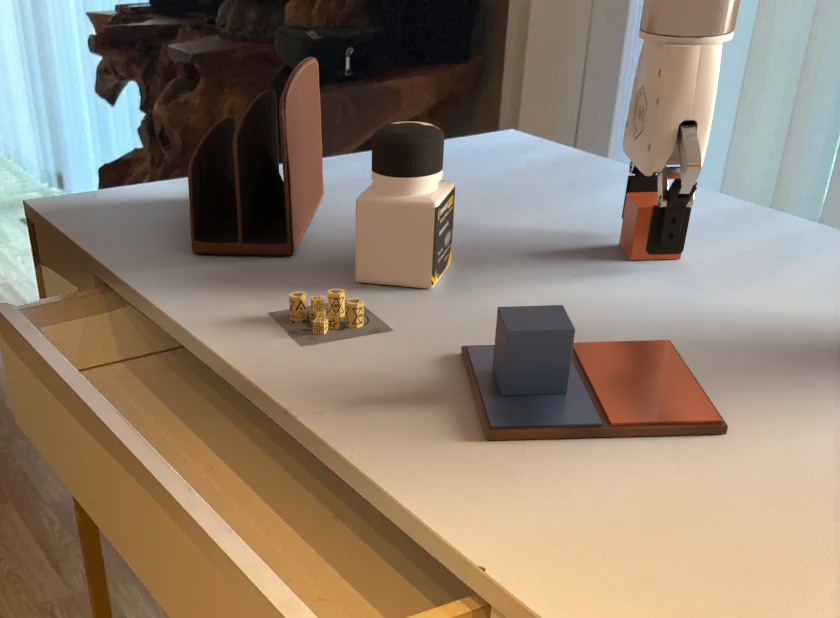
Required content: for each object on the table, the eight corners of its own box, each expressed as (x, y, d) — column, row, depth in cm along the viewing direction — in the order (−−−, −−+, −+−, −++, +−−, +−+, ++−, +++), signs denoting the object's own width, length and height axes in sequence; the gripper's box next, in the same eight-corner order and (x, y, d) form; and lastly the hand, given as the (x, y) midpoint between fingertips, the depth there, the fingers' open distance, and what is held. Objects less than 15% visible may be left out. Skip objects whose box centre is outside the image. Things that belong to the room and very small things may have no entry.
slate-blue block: (555, 367, 82) (563, 304, 79) (566, 394, 78) (575, 329, 75) (492, 369, 82) (497, 306, 79) (501, 396, 78) (507, 331, 75)
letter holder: (324, 197, 119) (322, 45, 110) (294, 258, 104) (289, 88, 95) (233, 196, 121) (224, 45, 112) (190, 255, 106) (176, 87, 97)
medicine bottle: (433, 290, 97) (440, 138, 89) (354, 283, 99) (354, 133, 91) (451, 264, 102) (460, 118, 94) (376, 257, 104) (378, 114, 96)
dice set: (286, 316, 93) (285, 292, 92) (343, 306, 95) (343, 283, 93) (308, 337, 90) (308, 313, 88) (367, 327, 91) (367, 303, 90)
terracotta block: (667, 243, 105) (677, 190, 102) (680, 259, 101) (690, 205, 98) (618, 244, 105) (626, 192, 102) (630, 260, 101) (638, 207, 98)
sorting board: (668, 347, 86) (670, 337, 86) (726, 434, 75) (729, 423, 74) (460, 353, 86) (461, 342, 86) (486, 440, 75) (487, 429, 74)
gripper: (619, 1, 98) (590, 209, 109) (670, 36, 85) (631, 269, 96) (704, -1, 98) (667, 207, 109) (769, 33, 85) (719, 267, 96)
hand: (650, 236), depth 102 cm, fingers open, 8 cm apart
